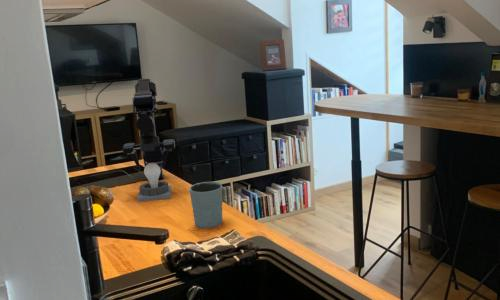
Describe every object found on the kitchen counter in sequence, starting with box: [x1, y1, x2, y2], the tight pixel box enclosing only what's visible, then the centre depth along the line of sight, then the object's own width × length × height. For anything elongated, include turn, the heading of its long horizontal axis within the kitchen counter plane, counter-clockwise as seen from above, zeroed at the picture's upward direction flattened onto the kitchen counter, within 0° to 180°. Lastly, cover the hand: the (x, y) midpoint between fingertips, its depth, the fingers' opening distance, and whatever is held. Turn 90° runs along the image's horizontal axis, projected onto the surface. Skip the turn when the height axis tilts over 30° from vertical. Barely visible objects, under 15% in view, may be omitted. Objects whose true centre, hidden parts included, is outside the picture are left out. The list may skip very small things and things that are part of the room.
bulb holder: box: [136, 180, 173, 203], centre depth 180 cm, size 12×12×4 cm
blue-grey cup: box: [189, 181, 223, 229], centre depth 146 cm, size 10×10×12 cm
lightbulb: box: [143, 163, 161, 188], centre depth 179 cm, size 6×6×11 cm
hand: (151, 168), depth 178 cm, fingers open, 9 cm apart
